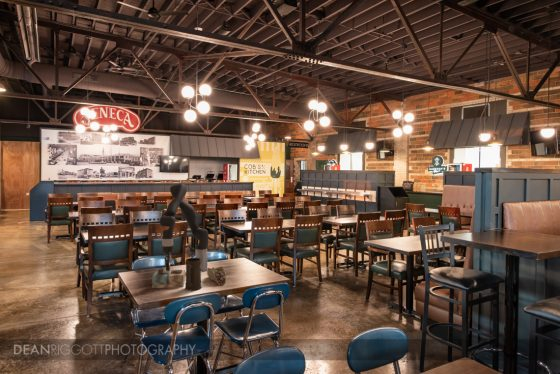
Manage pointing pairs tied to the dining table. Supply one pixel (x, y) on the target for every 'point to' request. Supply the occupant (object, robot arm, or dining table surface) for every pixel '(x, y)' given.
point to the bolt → (165, 270)
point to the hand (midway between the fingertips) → (168, 269)
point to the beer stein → (193, 274)
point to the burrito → (217, 275)
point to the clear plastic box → (168, 279)
